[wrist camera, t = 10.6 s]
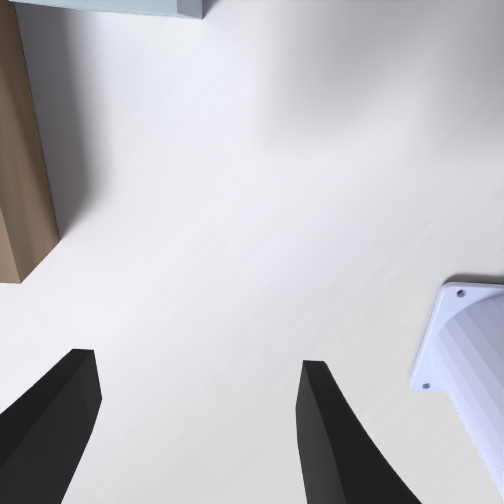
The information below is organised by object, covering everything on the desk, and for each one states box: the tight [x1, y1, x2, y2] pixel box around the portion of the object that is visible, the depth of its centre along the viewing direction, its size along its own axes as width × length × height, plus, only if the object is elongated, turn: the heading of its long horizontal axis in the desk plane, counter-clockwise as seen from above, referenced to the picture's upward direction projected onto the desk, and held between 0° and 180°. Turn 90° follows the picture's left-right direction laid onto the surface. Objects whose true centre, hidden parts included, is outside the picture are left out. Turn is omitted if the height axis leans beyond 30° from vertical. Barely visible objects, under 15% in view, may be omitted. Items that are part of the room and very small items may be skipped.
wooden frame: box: [0, 0, 60, 284], centre depth 15 cm, size 14×19×4 cm
